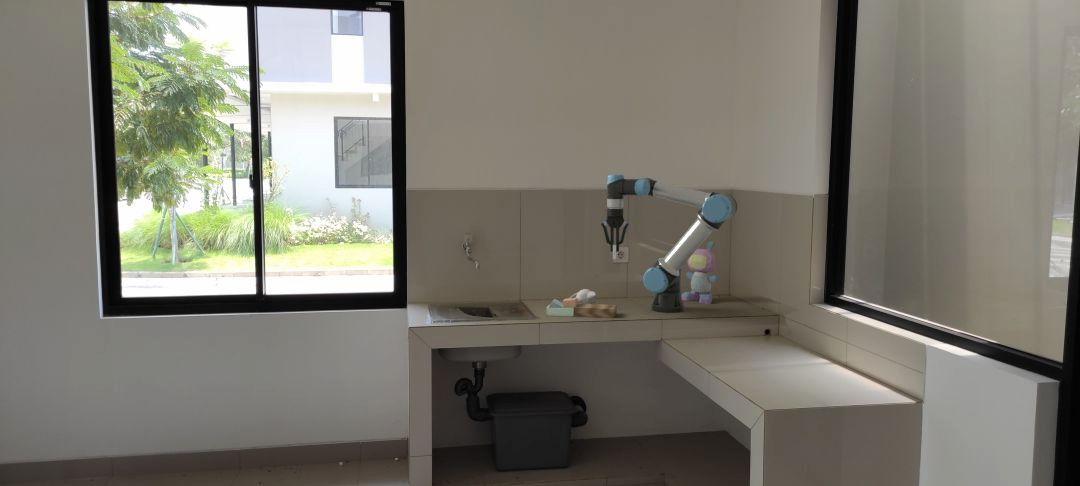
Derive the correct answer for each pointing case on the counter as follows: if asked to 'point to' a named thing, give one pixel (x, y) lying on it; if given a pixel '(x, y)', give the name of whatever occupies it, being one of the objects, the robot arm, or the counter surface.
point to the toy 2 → (701, 275)
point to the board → (595, 310)
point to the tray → (560, 311)
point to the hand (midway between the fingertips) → (614, 258)
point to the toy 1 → (585, 296)
